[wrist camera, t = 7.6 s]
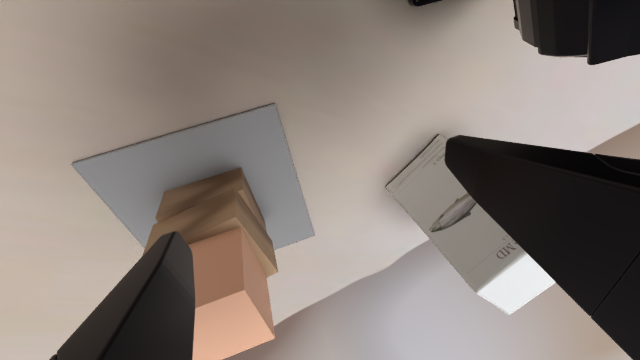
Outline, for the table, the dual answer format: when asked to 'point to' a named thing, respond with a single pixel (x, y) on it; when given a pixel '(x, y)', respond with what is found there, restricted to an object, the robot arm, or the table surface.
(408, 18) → the table surface
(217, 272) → the terracotta block
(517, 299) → the supplement box
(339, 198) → the table surface
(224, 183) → the block
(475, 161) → the robot arm
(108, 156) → the felt mat
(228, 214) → the tower top
